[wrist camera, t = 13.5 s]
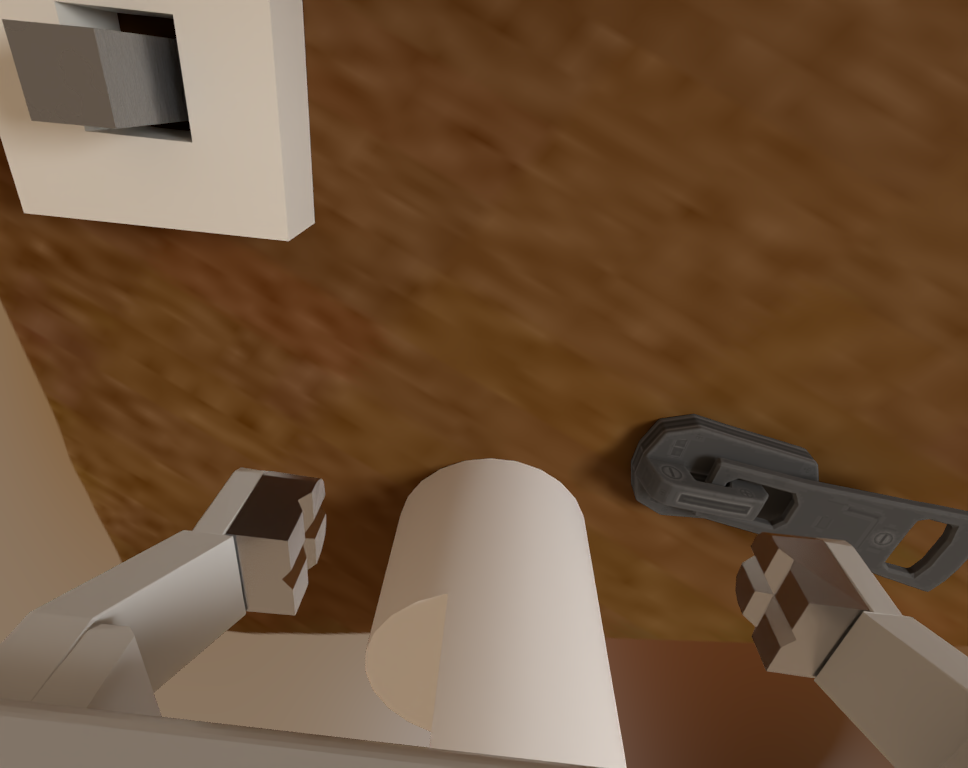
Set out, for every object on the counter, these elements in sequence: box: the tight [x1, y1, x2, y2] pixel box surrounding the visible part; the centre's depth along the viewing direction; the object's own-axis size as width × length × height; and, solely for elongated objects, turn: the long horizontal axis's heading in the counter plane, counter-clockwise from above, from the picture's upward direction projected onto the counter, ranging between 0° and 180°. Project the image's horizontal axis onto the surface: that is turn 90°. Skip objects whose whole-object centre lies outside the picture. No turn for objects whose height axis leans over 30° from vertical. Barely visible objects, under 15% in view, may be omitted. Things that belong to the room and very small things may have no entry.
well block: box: [0, 0, 315, 241], centre depth 31 cm, size 16×16×5 cm
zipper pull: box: [631, 414, 968, 592], centre depth 43 cm, size 9×7×25 cm
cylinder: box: [365, 458, 627, 768], centre depth 38 cm, size 17×17×28 cm
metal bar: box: [2, 19, 189, 129], centre depth 29 cm, size 4×4×10 cm
